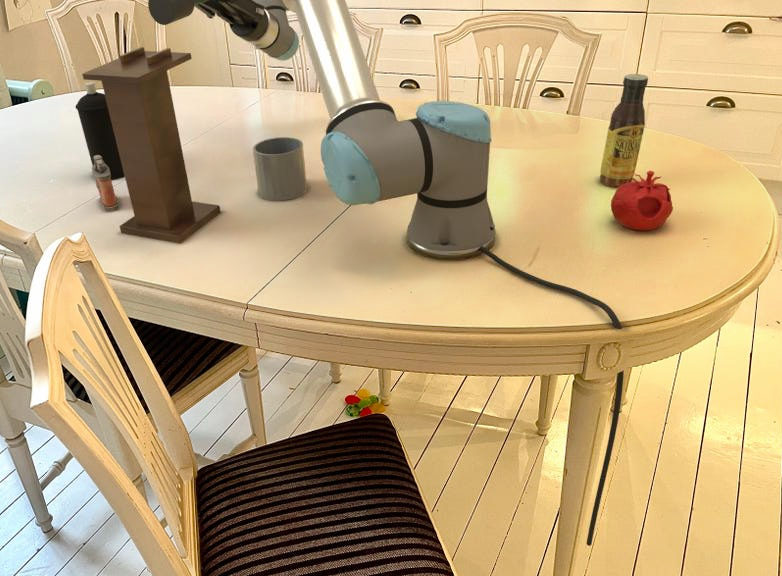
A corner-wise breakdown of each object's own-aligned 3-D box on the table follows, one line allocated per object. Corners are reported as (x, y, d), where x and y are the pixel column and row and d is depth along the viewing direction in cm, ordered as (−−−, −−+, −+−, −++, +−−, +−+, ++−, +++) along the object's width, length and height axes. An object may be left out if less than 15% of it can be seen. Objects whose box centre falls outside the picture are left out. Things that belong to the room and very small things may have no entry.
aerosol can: (121, 180, 165) (98, 88, 153) (87, 180, 166) (62, 89, 155) (136, 166, 171) (115, 77, 159) (103, 166, 173) (80, 78, 161)
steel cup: (315, 192, 151) (311, 147, 146) (270, 204, 148) (265, 159, 142) (293, 177, 159) (289, 133, 153) (251, 188, 155) (245, 144, 150)
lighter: (98, 198, 157) (86, 153, 151) (114, 195, 158) (103, 149, 152) (104, 212, 151) (91, 165, 145) (121, 209, 152) (109, 162, 146)
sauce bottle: (608, 190, 141) (625, 83, 130) (593, 178, 146) (608, 74, 135) (640, 185, 142) (660, 79, 130) (624, 173, 147) (642, 70, 135)
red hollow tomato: (596, 221, 131) (603, 170, 126) (636, 205, 135) (645, 156, 129) (641, 241, 124) (651, 189, 119) (682, 224, 128) (694, 173, 122)
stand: (165, 202, 153) (131, 43, 135) (222, 211, 147) (194, 45, 129) (119, 234, 142) (75, 65, 124) (178, 244, 137) (141, 69, 118)
